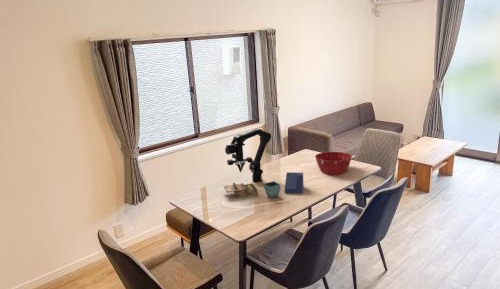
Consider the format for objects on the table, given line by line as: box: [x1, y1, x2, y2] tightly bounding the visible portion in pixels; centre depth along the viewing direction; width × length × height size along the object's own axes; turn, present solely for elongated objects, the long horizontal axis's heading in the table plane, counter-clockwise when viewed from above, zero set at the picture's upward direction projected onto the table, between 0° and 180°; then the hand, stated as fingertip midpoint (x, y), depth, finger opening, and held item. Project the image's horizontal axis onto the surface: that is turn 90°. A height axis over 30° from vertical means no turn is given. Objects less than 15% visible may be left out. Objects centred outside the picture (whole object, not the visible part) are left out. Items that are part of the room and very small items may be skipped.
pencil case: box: [233, 183, 258, 199], centre depth 262 cm, size 15×13×4 cm
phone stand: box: [284, 171, 305, 195], centre depth 260 cm, size 12×12×12 cm
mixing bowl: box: [314, 151, 353, 176], centre depth 291 cm, size 28×28×16 cm
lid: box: [223, 182, 247, 194], centre depth 260 cm, size 14×13×3 cm
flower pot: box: [263, 181, 281, 198], centre depth 253 cm, size 9×9×9 cm
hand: (240, 172), depth 273 cm, fingers closed
